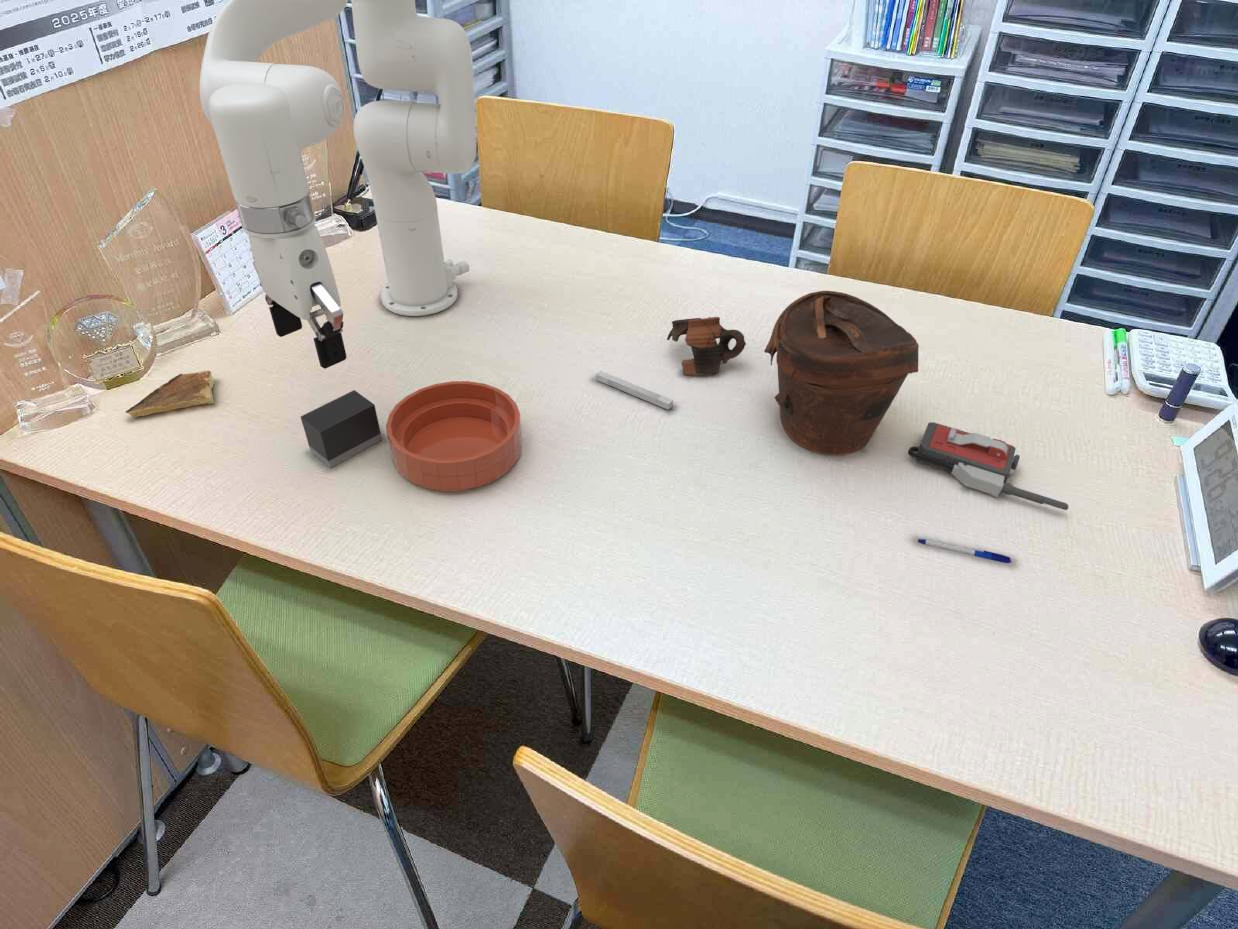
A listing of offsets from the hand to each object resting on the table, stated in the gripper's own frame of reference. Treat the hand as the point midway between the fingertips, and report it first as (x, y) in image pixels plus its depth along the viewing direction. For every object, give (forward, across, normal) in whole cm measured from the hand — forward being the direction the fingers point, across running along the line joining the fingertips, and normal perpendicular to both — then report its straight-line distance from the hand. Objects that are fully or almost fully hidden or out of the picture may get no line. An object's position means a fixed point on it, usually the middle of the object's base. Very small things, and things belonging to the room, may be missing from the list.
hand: (311, 347), depth 99 cm
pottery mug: (+15, -22, -51) cm, 57 cm away
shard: (+16, +24, +10) cm, 30 cm away
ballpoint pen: (+16, -69, -41) cm, 82 cm away
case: (+16, -44, -50) cm, 68 cm away
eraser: (+16, -1, -1) cm, 16 cm away
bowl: (+16, -12, -11) cm, 22 cm away
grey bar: (+15, -20, -37) cm, 44 cm away
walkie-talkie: (+16, -65, -56) cm, 87 cm away
